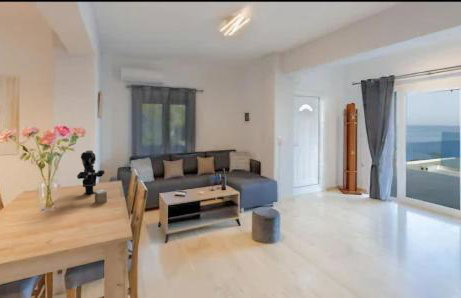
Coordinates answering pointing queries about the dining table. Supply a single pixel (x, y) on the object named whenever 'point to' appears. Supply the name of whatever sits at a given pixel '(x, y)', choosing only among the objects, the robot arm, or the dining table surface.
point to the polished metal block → (100, 196)
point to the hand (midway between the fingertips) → (95, 183)
